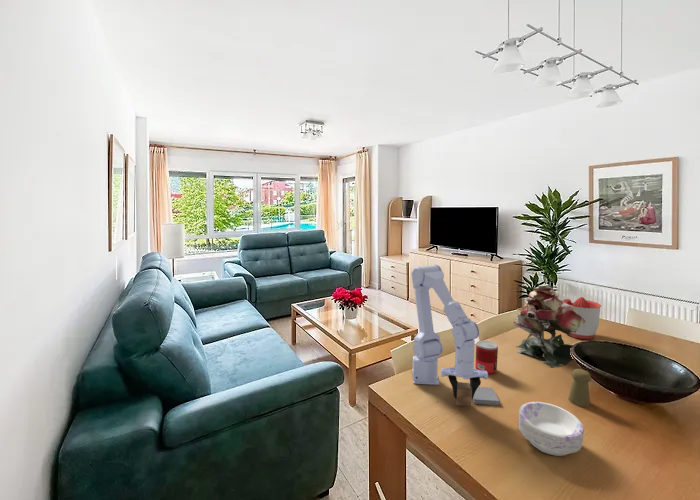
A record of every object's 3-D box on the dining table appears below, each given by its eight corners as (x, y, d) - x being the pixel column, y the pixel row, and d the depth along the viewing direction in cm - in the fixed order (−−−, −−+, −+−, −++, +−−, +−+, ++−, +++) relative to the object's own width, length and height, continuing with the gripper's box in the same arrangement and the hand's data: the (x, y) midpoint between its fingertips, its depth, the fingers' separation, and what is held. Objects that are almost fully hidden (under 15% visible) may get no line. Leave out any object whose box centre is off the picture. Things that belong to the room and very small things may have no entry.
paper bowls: (583, 473, 81) (586, 444, 80) (515, 450, 89) (516, 423, 88) (579, 436, 94) (582, 411, 92) (520, 419, 101) (521, 395, 100)
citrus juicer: (587, 329, 173) (590, 292, 171) (604, 342, 157) (608, 302, 154) (554, 327, 177) (557, 291, 174) (568, 340, 160) (571, 300, 158)
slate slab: (474, 404, 110) (474, 399, 110) (468, 391, 118) (468, 386, 118) (499, 406, 109) (499, 400, 109) (491, 392, 117) (492, 387, 117)
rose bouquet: (588, 352, 147) (594, 286, 143) (558, 371, 131) (563, 298, 127) (530, 334, 168) (533, 277, 164) (498, 348, 152) (501, 285, 148)
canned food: (498, 375, 128) (500, 348, 126) (477, 373, 129) (478, 347, 128) (494, 366, 135) (495, 340, 134) (473, 364, 137) (474, 339, 135)
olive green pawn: (586, 398, 112) (589, 368, 111) (593, 408, 106) (595, 376, 105) (566, 395, 114) (568, 365, 112) (571, 405, 108) (573, 373, 107)
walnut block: (457, 405, 107) (457, 389, 106) (454, 397, 111) (455, 382, 110) (471, 406, 106) (472, 390, 105) (468, 398, 110) (469, 382, 110)
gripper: (443, 362, 104) (442, 402, 105) (491, 365, 102) (489, 406, 103) (440, 353, 110) (439, 390, 112) (485, 355, 108) (483, 393, 110)
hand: (462, 397), depth 108 cm, fingers closed on walnut block, 4 cm apart
